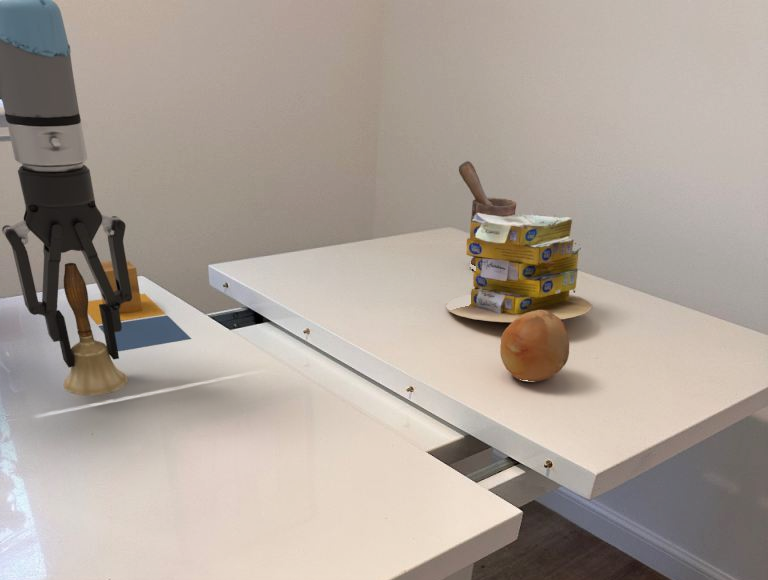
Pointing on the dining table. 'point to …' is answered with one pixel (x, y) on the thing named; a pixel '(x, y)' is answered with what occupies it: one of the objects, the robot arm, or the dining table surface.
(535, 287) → the stacked boxes on plate
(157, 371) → the dining table surface
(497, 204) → the mortar and pestle
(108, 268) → the block
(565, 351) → the onion
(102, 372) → the hand bell
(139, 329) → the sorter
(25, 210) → the robot arm
